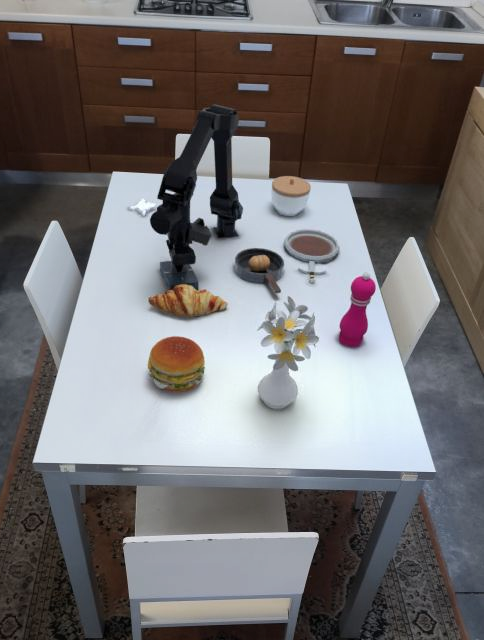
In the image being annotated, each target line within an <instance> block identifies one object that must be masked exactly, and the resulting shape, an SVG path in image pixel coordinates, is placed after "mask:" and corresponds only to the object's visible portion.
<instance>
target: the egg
mask: <svg viewBox="0 0 484 640" xmlns="http://www.w3.org/2000/svg"><path fill="white" fill-rule="evenodd" d="M269 266H270V260H269V258H268V257H267V256H265V255H258V256H253V257H252V258H251V259H250V260H249V267H250V269H251V270H252V271H255V272H257V271H265V270H267V269H268V268H269Z"/></svg>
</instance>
